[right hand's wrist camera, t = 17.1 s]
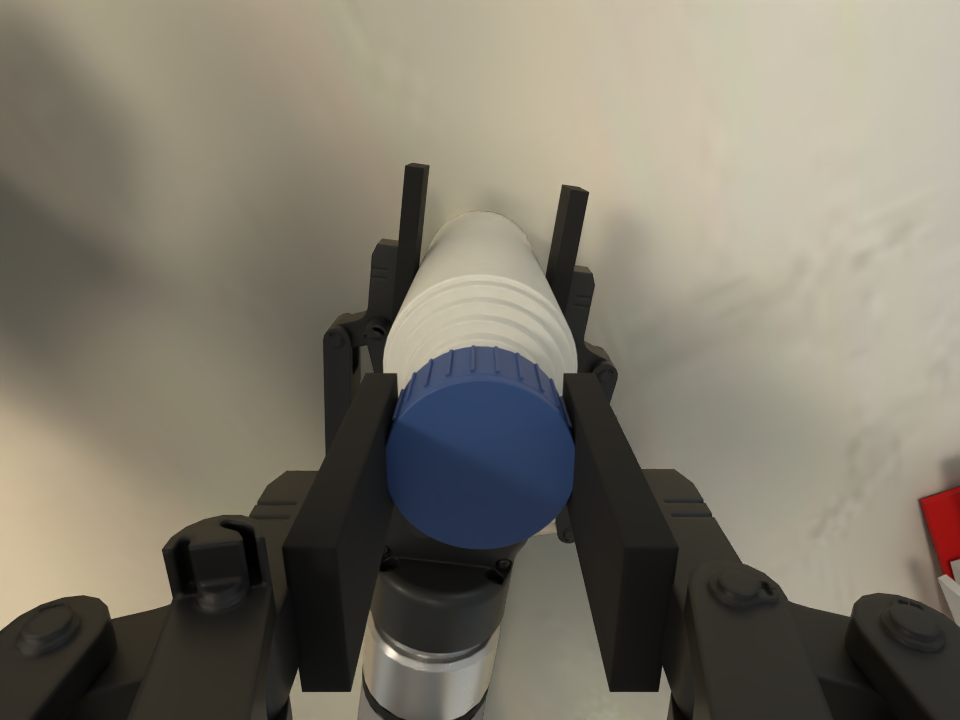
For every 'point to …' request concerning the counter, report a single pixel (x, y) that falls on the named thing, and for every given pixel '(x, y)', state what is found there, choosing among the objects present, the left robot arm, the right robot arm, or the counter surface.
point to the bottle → (480, 301)
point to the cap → (480, 449)
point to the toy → (946, 542)
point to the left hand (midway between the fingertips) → (496, 177)
